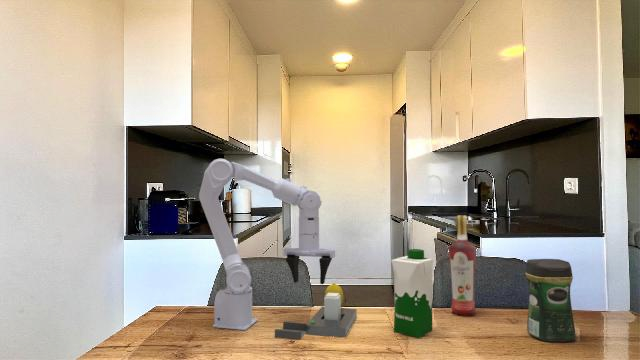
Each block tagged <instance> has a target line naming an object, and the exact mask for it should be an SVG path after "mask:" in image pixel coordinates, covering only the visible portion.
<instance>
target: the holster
mask: <svg viewBox="0 0 640 360" xmlns="http://www.w3.org/2000/svg"><path fill="white" fill-rule="evenodd" d="M307 323H308V322H297V321H290V320H289V321H288V320H287V321H286V320H284V321H283V322H282V327H283V328H275V329H274V338H277V339H288V340H298V341H301V339H303V337H304V336H305V335H306V325H307Z"/></svg>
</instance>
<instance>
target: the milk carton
mask: <svg viewBox="0 0 640 360" xmlns="http://www.w3.org/2000/svg"><path fill="white" fill-rule="evenodd" d="M433 259H434V258H428V257H425V249H421V248H420V249H419V248H411V249H410V248H409V249H408V250H407V255H404V256H401V257H396V258H393V259H391V260H390V262H391V265H392V269H393V270H392V271H393V275H394V276H393V278H394V281H393V282H394V285H393V286H394V289H393V290H394V293H393V294H394V318H393V332H394V333H395V332H396V333H399V334H401V335H405V336H410V337H413V338H417V339H420V338H422V337H423V336H425V335H427V334H429V333H431V332H432V331H433V263H434V260H433Z"/></svg>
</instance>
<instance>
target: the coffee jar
mask: <svg viewBox="0 0 640 360" xmlns="http://www.w3.org/2000/svg"><path fill="white" fill-rule="evenodd" d="M525 264H526V265H525V266H526V267H525V278H526V279H527V282H528V287H529V288H528V291H529V293H528V294H529V297H528V308H527V311H528V312H527V324H526V325H527V326H526V327H527V328H526V330H527V332H528V333H529V335H530V336H531V337H534V339H539V340H541V341H544V342H570V341H571V342H572V341H575V339H576V329H575V328H576V327H575V321H574V316H573V308H572V299H571V286H572V283H573V279H574V276H573V272H572V265H571V264H570V262H569V261H566V260H563V259H559V258H535V259H534V258H533V259H527V260H526V263H525Z"/></svg>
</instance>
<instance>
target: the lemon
mask: <svg viewBox="0 0 640 360" xmlns="http://www.w3.org/2000/svg"><path fill="white" fill-rule="evenodd" d="M328 293H339V295H341V305H342V304H343V302H344V293H343V289H342V287H341V286H340V285H339V284H336V283H335V282H333V283H331V284H329V285H328V286H327V287H326V289H325V292H324V298H325V297H326V295H327V294H328Z"/></svg>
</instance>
